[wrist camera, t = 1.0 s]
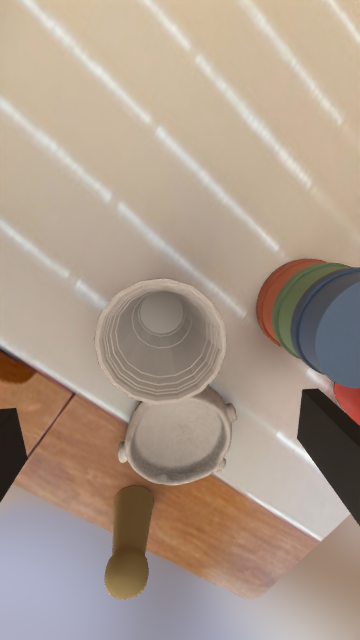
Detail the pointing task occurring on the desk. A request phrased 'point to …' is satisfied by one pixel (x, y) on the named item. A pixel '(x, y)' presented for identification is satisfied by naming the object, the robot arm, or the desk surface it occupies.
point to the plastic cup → (160, 341)
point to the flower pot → (349, 400)
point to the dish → (179, 438)
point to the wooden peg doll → (129, 543)
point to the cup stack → (315, 316)
